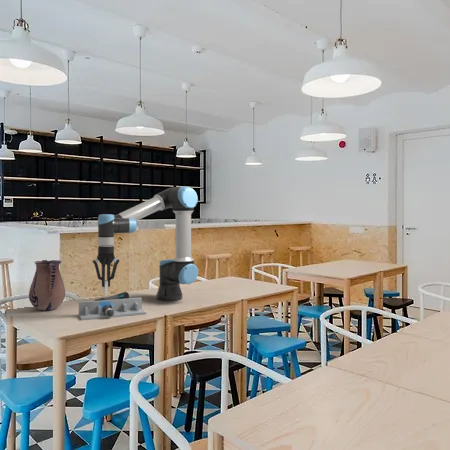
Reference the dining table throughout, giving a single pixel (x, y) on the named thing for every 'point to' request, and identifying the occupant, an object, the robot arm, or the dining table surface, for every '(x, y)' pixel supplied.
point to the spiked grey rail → (118, 306)
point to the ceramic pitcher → (47, 286)
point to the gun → (115, 297)
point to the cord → (108, 311)
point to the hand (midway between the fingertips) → (105, 293)
